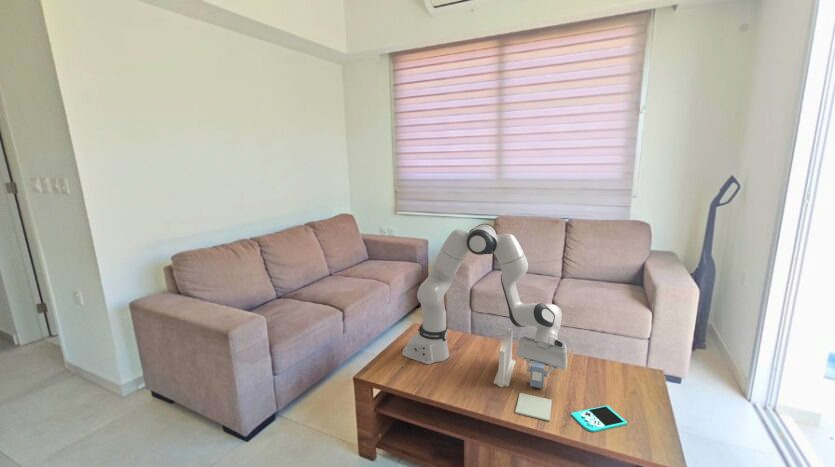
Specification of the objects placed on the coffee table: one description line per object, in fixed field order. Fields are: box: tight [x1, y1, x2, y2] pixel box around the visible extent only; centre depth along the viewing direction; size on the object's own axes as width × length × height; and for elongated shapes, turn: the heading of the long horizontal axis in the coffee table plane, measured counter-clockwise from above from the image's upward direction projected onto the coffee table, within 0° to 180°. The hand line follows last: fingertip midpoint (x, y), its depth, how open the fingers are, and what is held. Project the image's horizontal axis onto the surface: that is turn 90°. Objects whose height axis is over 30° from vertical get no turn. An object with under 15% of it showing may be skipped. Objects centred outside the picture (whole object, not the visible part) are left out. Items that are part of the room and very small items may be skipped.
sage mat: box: [515, 392, 553, 422], centre depth 141 cm, size 12×12×1 cm
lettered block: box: [529, 360, 546, 389], centre depth 153 cm, size 5×5×9 cm
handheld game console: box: [571, 405, 628, 433], centre depth 135 cm, size 10×16×1 cm, turn 105°
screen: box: [493, 327, 516, 388], centre depth 162 cm, size 6×22×16 cm, turn 157°
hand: (537, 373), depth 153 cm, fingers closed on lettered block, 5 cm apart
